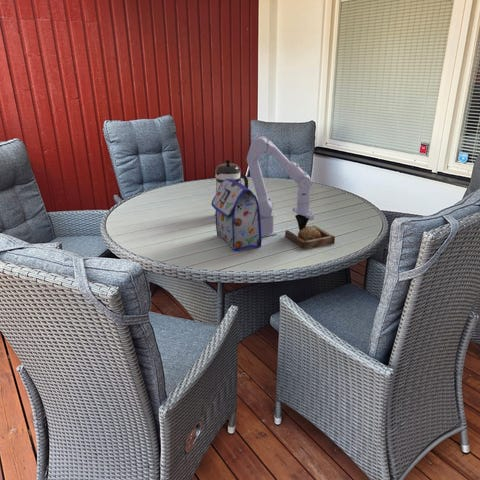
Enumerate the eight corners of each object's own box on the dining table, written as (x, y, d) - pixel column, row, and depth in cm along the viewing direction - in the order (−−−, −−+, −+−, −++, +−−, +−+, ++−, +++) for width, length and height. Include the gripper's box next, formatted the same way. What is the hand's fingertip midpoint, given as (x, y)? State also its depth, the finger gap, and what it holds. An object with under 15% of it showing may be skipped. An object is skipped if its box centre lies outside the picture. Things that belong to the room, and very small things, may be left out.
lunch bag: (210, 235, 184) (208, 178, 174) (242, 230, 190) (242, 175, 180) (228, 254, 165) (227, 191, 155) (264, 247, 171) (265, 187, 161)
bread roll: (300, 250, 176) (305, 238, 170) (293, 234, 183) (296, 221, 177) (321, 248, 179) (326, 236, 173) (312, 231, 185) (317, 219, 179)
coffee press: (242, 222, 200) (241, 162, 189) (211, 220, 203) (209, 161, 192) (248, 211, 216) (248, 156, 204) (219, 209, 219) (218, 155, 207)
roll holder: (303, 249, 169) (303, 242, 168) (285, 236, 182) (285, 230, 181) (334, 243, 175) (335, 236, 174) (314, 231, 188) (314, 225, 187)
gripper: (320, 205, 173) (318, 234, 178) (302, 196, 185) (300, 224, 191) (306, 207, 170) (304, 236, 176) (289, 198, 183) (287, 226, 188)
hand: (301, 230), depth 183 cm, fingers closed
